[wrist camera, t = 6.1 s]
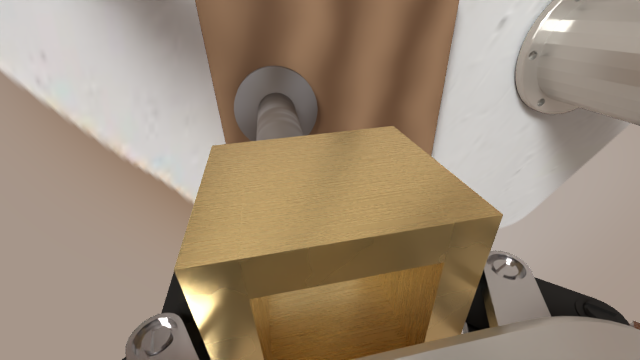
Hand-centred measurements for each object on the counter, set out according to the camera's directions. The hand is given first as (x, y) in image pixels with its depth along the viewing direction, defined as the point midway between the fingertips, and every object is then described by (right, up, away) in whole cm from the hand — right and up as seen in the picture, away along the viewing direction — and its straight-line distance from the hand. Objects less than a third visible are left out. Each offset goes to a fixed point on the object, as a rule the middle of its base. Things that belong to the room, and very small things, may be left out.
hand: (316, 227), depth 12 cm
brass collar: (0, +1, +1) cm, 1 cm away
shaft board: (+1, +10, +16) cm, 19 cm away
